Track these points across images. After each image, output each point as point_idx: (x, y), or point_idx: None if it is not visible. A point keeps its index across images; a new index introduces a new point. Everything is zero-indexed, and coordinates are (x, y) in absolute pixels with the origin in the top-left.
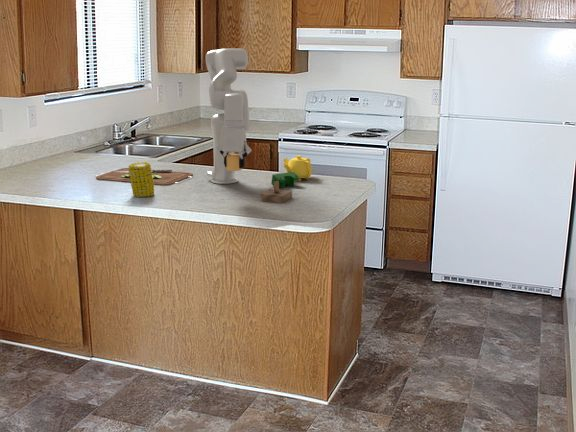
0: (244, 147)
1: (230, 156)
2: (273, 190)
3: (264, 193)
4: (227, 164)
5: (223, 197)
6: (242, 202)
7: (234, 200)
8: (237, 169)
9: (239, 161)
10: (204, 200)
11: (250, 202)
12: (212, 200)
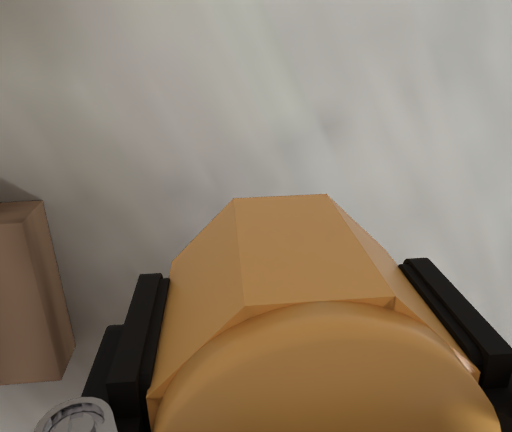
0: None
1: (352, 339)
2: (7, 353)
3: (4, 247)
4: (383, 261)
5: (351, 183)
6: (143, 100)
7: (234, 134)
8: (193, 247)
9: (143, 340)
10: (455, 37)
11: (86, 126)
12: (395, 63)
